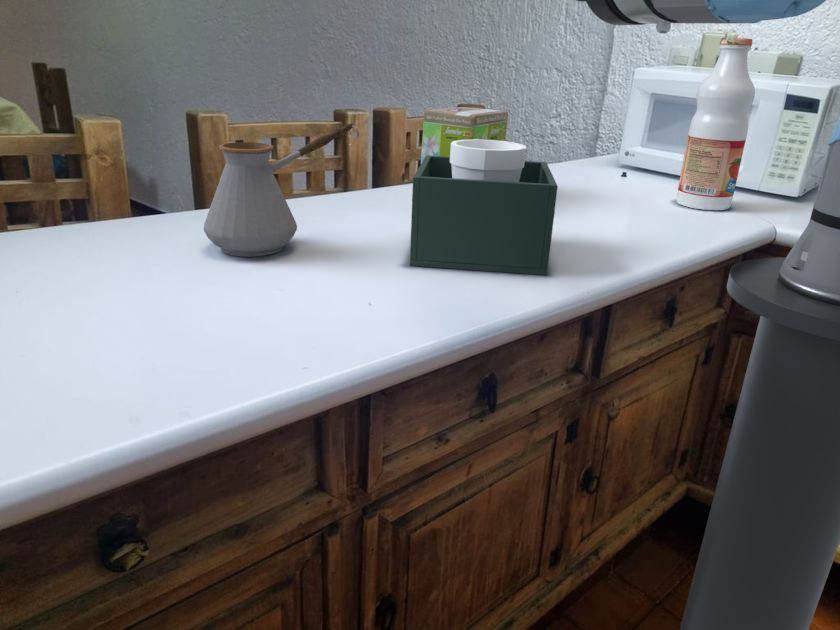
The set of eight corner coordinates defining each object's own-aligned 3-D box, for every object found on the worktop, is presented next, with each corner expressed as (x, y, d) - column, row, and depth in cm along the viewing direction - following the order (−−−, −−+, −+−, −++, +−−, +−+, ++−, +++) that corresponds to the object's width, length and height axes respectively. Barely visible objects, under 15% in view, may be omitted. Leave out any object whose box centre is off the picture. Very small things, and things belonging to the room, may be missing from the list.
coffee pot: (226, 267, 77) (216, 135, 71) (192, 243, 85) (180, 123, 79) (378, 242, 89) (380, 128, 83) (335, 223, 97) (334, 118, 92)
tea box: (468, 204, 112) (474, 114, 107) (417, 196, 117) (420, 109, 111) (502, 190, 124) (509, 109, 119) (454, 183, 129) (459, 104, 123)
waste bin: (537, 238, 94) (546, 162, 90) (546, 275, 79) (557, 185, 75) (422, 230, 95) (425, 155, 91) (409, 265, 80) (413, 177, 76)
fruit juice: (669, 198, 124) (699, 37, 113) (720, 201, 123) (755, 39, 113) (682, 209, 115) (716, 36, 105) (738, 212, 115) (777, 39, 104)
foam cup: (510, 236, 91) (519, 140, 86) (523, 256, 83) (534, 151, 78) (442, 234, 91) (447, 138, 86) (448, 254, 82) (454, 148, 77)
